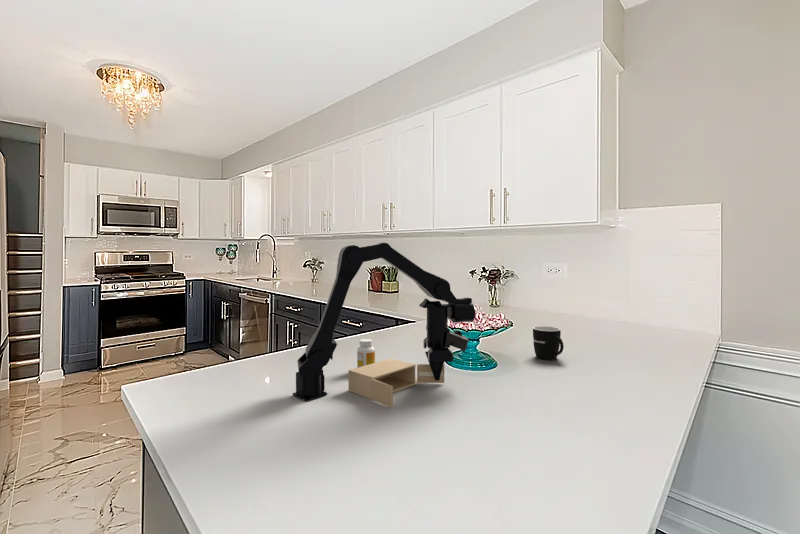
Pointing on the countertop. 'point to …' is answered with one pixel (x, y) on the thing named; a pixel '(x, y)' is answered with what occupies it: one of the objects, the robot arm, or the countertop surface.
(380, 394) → the left flap
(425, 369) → the right flap
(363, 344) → the supplement bottle
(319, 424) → the countertop surface
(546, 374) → the countertop surface
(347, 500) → the countertop surface
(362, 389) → the carton
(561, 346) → the mug
